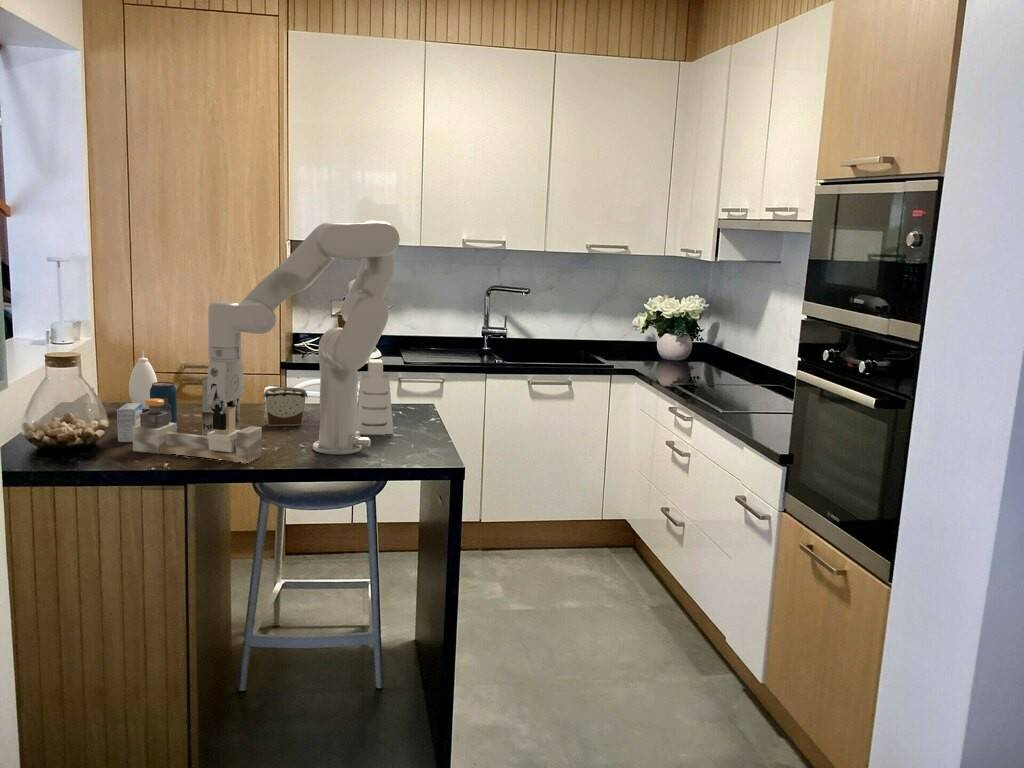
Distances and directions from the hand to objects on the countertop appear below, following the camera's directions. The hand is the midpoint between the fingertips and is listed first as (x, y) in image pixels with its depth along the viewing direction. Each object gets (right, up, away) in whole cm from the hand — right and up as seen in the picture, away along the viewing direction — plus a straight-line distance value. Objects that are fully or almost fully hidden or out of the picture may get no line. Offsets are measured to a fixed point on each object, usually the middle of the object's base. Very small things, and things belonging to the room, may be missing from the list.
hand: (224, 426), depth 223 cm
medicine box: (-29, -4, +13) cm, 32 cm away
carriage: (0, -6, +1) cm, 6 cm away
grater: (+31, -3, +38) cm, 49 cm away
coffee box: (-7, -4, +21) cm, 23 cm away
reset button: (-18, +3, +4) cm, 19 cm away
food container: (+5, -1, +40) cm, 40 cm away
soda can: (-25, -1, +28) cm, 37 cm away
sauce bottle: (-38, +3, +46) cm, 60 cm away
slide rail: (-7, -7, +3) cm, 11 cm away
